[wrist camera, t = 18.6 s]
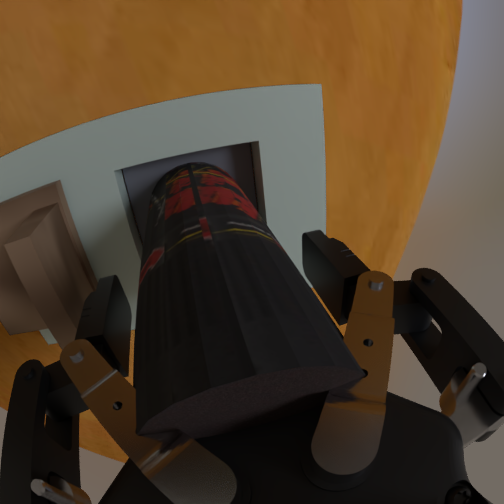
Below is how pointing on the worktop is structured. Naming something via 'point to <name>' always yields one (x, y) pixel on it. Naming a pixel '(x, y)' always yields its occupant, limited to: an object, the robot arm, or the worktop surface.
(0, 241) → the cover
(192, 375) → the deodorant
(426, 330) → the robot arm
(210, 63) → the worktop surface
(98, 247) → the socket board
